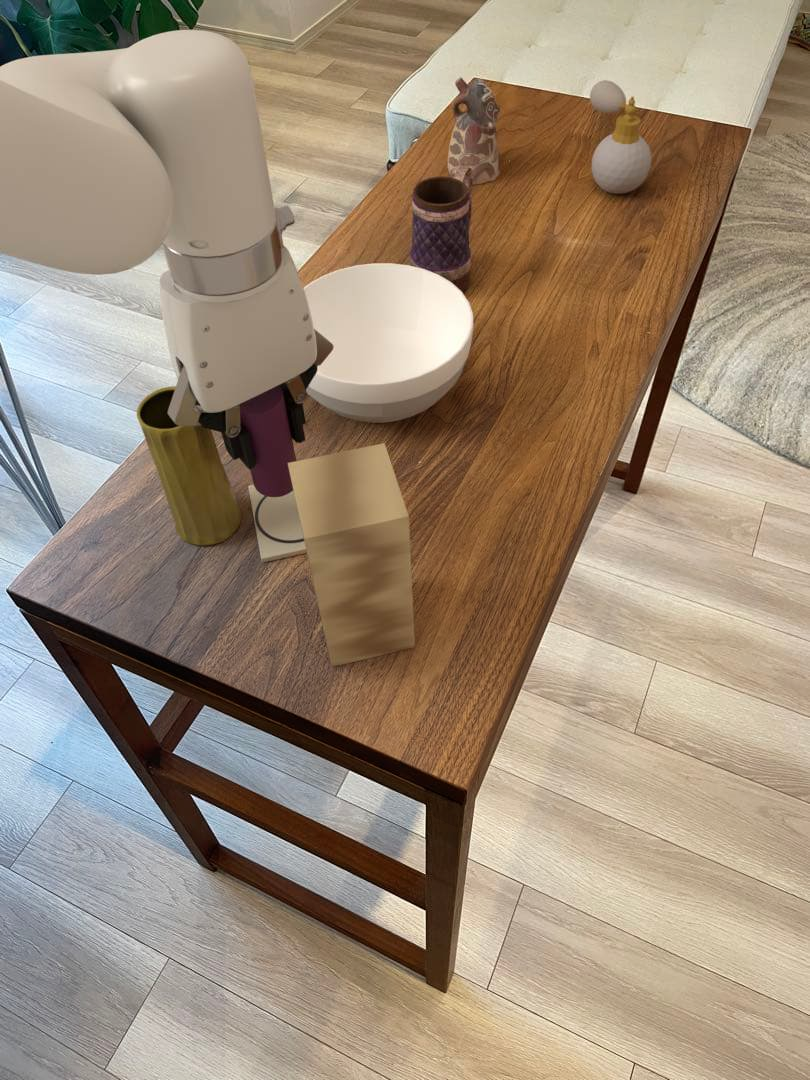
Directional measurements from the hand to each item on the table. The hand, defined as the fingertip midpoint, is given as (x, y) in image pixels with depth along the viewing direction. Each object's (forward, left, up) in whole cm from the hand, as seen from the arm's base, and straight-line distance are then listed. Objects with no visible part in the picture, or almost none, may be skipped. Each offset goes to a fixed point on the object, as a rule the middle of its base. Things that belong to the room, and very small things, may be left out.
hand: (268, 444), depth 69 cm
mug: (+25, +32, -10) cm, 42 cm away
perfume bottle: (+51, +45, -10) cm, 69 cm away
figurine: (+35, +54, -10) cm, 65 cm away
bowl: (+13, +15, -10) cm, 22 cm away
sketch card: (+3, 0, -10) cm, 11 cm away
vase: (-7, +2, -10) cm, 13 cm away
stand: (+5, -13, -10) cm, 17 cm away
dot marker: (0, 0, -5) cm, 5 cm away
